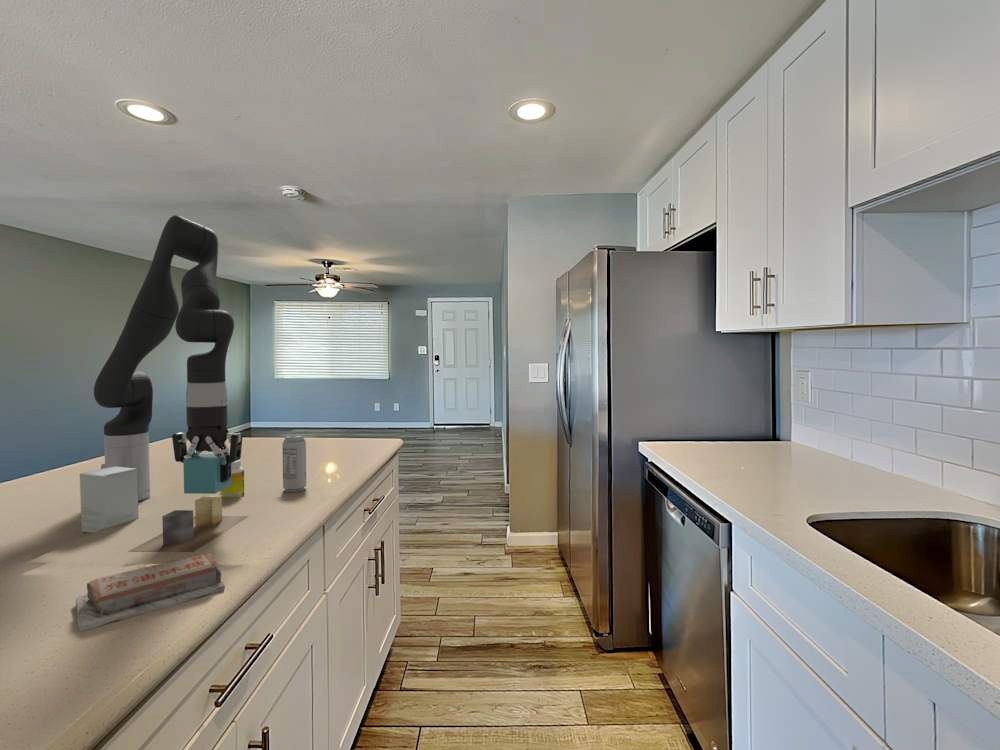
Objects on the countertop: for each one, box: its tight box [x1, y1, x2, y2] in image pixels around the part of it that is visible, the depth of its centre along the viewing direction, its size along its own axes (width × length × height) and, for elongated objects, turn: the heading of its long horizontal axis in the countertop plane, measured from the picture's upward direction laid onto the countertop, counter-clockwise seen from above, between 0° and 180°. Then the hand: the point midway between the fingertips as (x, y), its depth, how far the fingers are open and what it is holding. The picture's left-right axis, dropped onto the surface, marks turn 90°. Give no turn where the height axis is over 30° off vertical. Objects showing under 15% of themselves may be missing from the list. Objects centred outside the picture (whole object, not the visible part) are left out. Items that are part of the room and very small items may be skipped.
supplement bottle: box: [219, 459, 245, 499], centre depth 128 cm, size 6×6×10 cm
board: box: [129, 509, 249, 553], centre depth 101 cm, size 12×20×7 cm, turn 0°
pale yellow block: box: [194, 495, 223, 527], centre depth 106 cm, size 4×4×6 cm
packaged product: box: [75, 552, 226, 632], centre depth 77 cm, size 18×5×10 cm
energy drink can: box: [281, 434, 307, 493], centre depth 138 cm, size 6×6×15 cm
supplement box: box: [79, 466, 139, 534], centre depth 107 cm, size 7×7×13 cm
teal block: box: [182, 453, 232, 495], centre depth 106 cm, size 6×6×7 cm
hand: (208, 481), depth 106 cm, fingers closed on teal block, 6 cm apart
